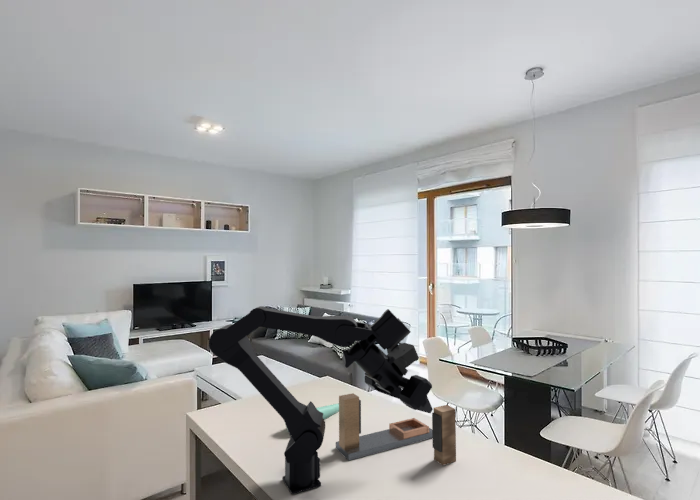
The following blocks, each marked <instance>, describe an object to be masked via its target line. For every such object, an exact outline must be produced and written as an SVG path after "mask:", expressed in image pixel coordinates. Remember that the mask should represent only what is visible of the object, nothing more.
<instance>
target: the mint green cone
mask: <svg viewBox="0 0 700 500" xmlns="http://www.w3.org/2000/svg"><path fill="white" fill-rule="evenodd" d="M316 409H317V410H318V411H320V412H322V413H323V419H324V420H326V419H328V418H330V417H331V416H334V415H335V414H336V413H339V402H338V403H333V404H328V405H324V406H319V407H318V406H317V407H316ZM285 428H286V430H287V431H288V429H287V427H286V424H285Z"/></svg>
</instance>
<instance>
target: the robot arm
mask: <svg viewBox="0 0 700 500" xmlns="http://www.w3.org/2000/svg"><path fill="white" fill-rule="evenodd" d="M259 328H266V329H270V330H271V329H273V330H277V331H278V330H280V331H285V332H290V333H295V334H296V333H297V334H303V335H306V336H307V335H309V336H313V337H316V338H319V339H320V340H323V341H325V342H327V343H329V344H332V345H334V346H338V347H342V348H348V347H350V348H348V349H343V350H342V356H341V357H342V358H341V360H342V363H343V365H344V367H345V368H347V369H348V368H349V367H350V366H351V365H352V364H353V363H355V364H356V365H357V366H358V367H359V368H360V369H361V370H363V372H364V375H365V376H364V384H366V385H367V386H368V387H369V388H371V389H373V390H375V391H377V392H379V393H382V394H384V395H387V396H390V397H393V398H396V399H398V400H400V402H401V403H403V404H404V405H405V406H406V407H408V408H410V409H412V410H413V411H420V412H424V413H427V414H432V413H433V411H434V408H433V406H432V405H431V402H430V400H429V397H428V394H429V393H430V392H431V390H432V389H433V384H432V382H430V381H429V380H428V378H425V377H423V376H420V375H417V374H415V375H411V376H410V377H409V378H407V377H404V376H406V375H407V374H408V372H409V371H408V369H407V368H408V367H410V366H411V365H412V364H413V363H415V362H417V361H418V360H419V359H420V357H419V354H418V352H417V349H416V348H415V345H414V344H411V343H406V342H402V341H403V340H404V339H406V337H407V336H408V335H409V334H410V333H411V331H410V329H409V328H408V327H407V326H406V325H405V324H404V322H403V321H402V320H401V319H400V318H399V317H397V316H396V315H395V314H394V313H393V312H392V311H391V310H390V309H386V310H385V311H384V312H383V313H382V314H381V315H380V317H379V318H378V319H377V320H375V321H374V322H373V323H372V324H371V323H364V322H360V321H356V320H355V318H354V317H352V316H350V315H326V316H325V315H321V316H319V315H318V316H317V315H316V316H315V315H310V314H303V313H300V312H299V313H298V312H292V311H288V310H287V311H286V310H279V309H274V308H269V307H266V306H265V305H264V306H262V305H261V306H257V307H255V308H252V309H251V310H250V311H249V313H247V314H246V315H244V316H242V318H240V319H238V320H236V322H234V323H232V324H231V323H230V324H226V325H225V326H222V327H220V328H218V329H216V330H215V331H213V332H212V334H211V335H210V337H209V340H208V349H209V350H210V353H212V354H213V355H214V356H215V357H217V358H218V359H219V360H221V361H222V362H224V363H225V364H227V365H229V366H231V367H233V368H235V369H237V370H238V371H240V372H241V374H242V375H243V376H244V377H245V378H246V379H247V381H249V383H250V384H251V385H252V386H253V387H254V388H255V390H257V392H258V393H259V394H260V395H261V396H262V397H263V398H264V399H265V400H266V401H267V403H269V405H270V406H271V408H273V409H274V410H275V412H276V413H277V414H278V415H279V416H280V417H281V418H282V420H283V422H284V423H285V424H286V425H285V428H286V427H287V428H286V430H287V429H288V430H287V433H289V436H290V437H289V440H288V443H287V445H286V447H285V451H284V453H283V454H284V455H283V456H284V475H283V476H282V477H281V479H282V481H283V483H284V484H285V486H286V488H287V489H288V490H289V492H290V494H291V495H295V494H298V493H302V492H305V491H309V490H313V489H317V488H318V487H321V486H322V482H321V481H320V480H319V479H321V458H320V457H319V452H318V450H319V449H320V448H321V446H322V444H323V442H324V438H325V432H326V421H325V419H323V413H322V412H320V411H318V410H317V409H316V408H317V407H316V406H315V404H314V402H313V401H311V400H310V401H309V402H308V403H307V404H304V403H303V402H300V401H299V400H298V399H296V397H295V396H294V395H293V394H292V393H291V391H289V390H288V388H287V387H286V386H285V385H284V384H283V383H282V382H281V381H280V380H279V378H277V376H276V375H275V374H274V373H273V372H272V371H271V369H269V367H268V366H267V365H266V364H265V363H264V362H263V361H262V360H261V359H260V357H259V356H258V355H257V354H256V352H255V350H254V347H253V345H252V343H251V342H252V341H251V340H250V339H249V337H248V336H249V335H250V334H252V333H253V332H254V331H256V330H257V329H259ZM376 343H377V344H376ZM378 345H379V346H380V347H381V348H382V349H383V350H384V351H385V350H386V352H387V354H386V353H385V352H384V351H383V350H382V349H381V348H380V347H379V346H378Z"/></svg>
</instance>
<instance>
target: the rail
mask: <svg viewBox="0 0 700 500" xmlns="http://www.w3.org/2000/svg"><path fill="white" fill-rule="evenodd" d="M338 403H339V412H338V441H335V449H336V450H337V451H338V452H339V453H340V454H341V455H342V456H343V457H344V458H345V459H346V460H347V461H353V460H356V459H360V458H363V457H364V458H365V457H367V456H371V455H375V454H378V453H382V452H385V451H389V450H393V449H397V448H400V447H404V446H407V445H411V444H415V443H419V442H422V441H423V442H424V441H426V440H431V439H432V427H430V426H429V425H427V424H426V423H424V422H422V421H420V420H418V419H416V418H415V417H413V418H412V417H411V418H407V419H404V420H399V421H395V422H392V423H389V427H388V429H385V430H384V429H383V430H380V431H376V432H371V433H367V434H363V435H360V434H362V400H361V399H360V397H359V396H358V395H356V394H355V393H354V392H353V393H347V394H342V395H338Z"/></svg>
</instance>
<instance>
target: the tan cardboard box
mask: <svg viewBox="0 0 700 500" xmlns="http://www.w3.org/2000/svg"><path fill="white" fill-rule="evenodd" d="M431 415H432V417H431V421H432V423H431V424H432V425H431V426H432V427H431V429H432V438H431V439H432V441H431V442H432V448H433V459H434V461H436V462H437V463H438V464H440V465H442V466H445V465H449V464H451V463H455V462H457V443H456V441H457V438H456V437H457V432H456V431H457V430H456V429H457V428H456V425H457V424H456V423H457V422H456V420H457V419H456V408H455V407H452V406H450V405H448V404H444V405H440V406H436V407H433V412H431Z"/></svg>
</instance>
